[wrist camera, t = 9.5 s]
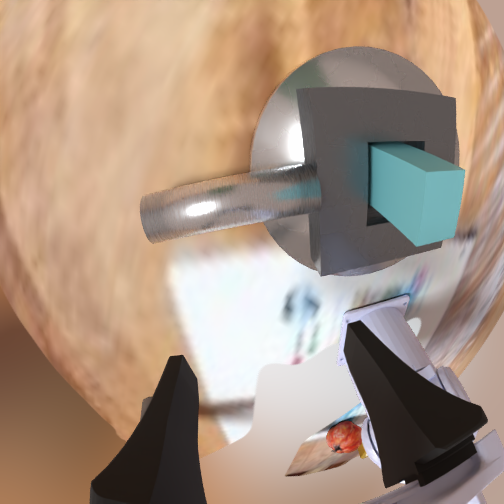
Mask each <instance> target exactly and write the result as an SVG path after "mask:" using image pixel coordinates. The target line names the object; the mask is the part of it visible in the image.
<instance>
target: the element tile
mask: <svg viewBox="0 0 504 504" xmlns="http://www.w3.org/2000/svg"><path fill="white" fill-rule="evenodd" d="M358 451H359V454H360V457H361V458H362V459H363V458H366V457H369V456H368V455H367V453H366V451H365V449H364V446H363V443H362V444H361V445H360V446H359V448H358Z"/></svg>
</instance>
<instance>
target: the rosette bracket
mask: <svg viewBox="0 0 504 504" xmlns="http://www.w3.org/2000/svg"><path fill="white" fill-rule="evenodd" d="M386 141H399V142H402V143H405V144H407V145H410V146H412V147H415V148H418V149H420V150H422V151H425V152H427V153H430V154H432V155H434V156H437V157H439V158H441V159H443V160H446V161H448V162H450V163H452V164H454V165H456V166H458V167H459V141H458V135H457V129H456V98H453V97H448V96H443V95H442V93H441V92H440V90H439V89H438V87H437V86H436V85H435V84H434V82H433V81H432V80H431V79H430V78H429V77H428V76H427V75H426V74H425V73H424V72H423V71H422V70H421V69H420V68H418V67H417V66H416V65H414V64H413V63H412V62H410V61H408V60H406V59H405V58H403V57H401V56H399V55H397V54H394V53H392V52H389V51H386V50H382V49H378V48H372V47H355V46H354V47H346V48H339V49H336V50H332V51H329V52H326V53H323V54H320V55H317V56H315V57H313V58H312V59H310V60H308V61H306V62H304V63H302V64H301V65H300V66H298V67H297V68H295V69H294V70H293V71H291V72H290V73H289V74H288V75H287V76H286V77H285V78H284V79H283V80H282V81H281V82H280V83H279V84H278V85H277V87H276V88H275V89H274V91H273V92H272V94H271V95H270V96H269V98H268V99H267V101H266V103H265V105H264V107H263V109H262V111H261V113H260V115H259V118H258V121H257V124H256V126H255V129H254V132H253V138H252V143H251V149H250V166H249V168H250V172H248V173H242V174H237V175H232V176H226V177H221V178H216V179H211V180H207V181H202V182H197V183H193V184H188V185H184V186H180V187H175V188H171V189H167V190H163V191H159V192H155V193H151V194H147V195H144V196H143V197H142V199H141V203H140V215H141V221H142V225H143V229H144V232H145V234H146V236H147V238H148V240H149V241H150V242H151V243H153V244H154V243H159V242H163V241H168V240H173V239H178V238H183V237H187V236H192V235H197V234H202V233H207V232H212V231H217V230H222V229H228V228H233V227H238V226H243V225H249V224H254V223H259V222H264V224H265V226H266V228H267V230H268V231H269V233H270V235H271V236H272V237H273V239H274V240H275V241H276V242H277V244H278V245H279V246H280V247H281V248H282V249H283V250H284V251H285V252H286V253H287V254H288V255H289V256H291V257H292V258H294V259H295V260H296V261H298V262H299V263H301V264H303V265H305V266H307V267H309V268H311V269H313V270H316V271H318V272H319V274H320V276H326V275H330V274H331V275H338V276H356V275H364V274H369V273H373V272H376V271H379V270H382V269H385V268H387V267H389V266H392V265H394V264H395V263H397V262H399V261H401V260H402V259H404V258H405V257H407V256H410V255H414V254H418V253H422V252H426V251H429V250H433V249H437V248H441V245H442V241H443V240H442V241H438V242H434V243H430V244H426V245H422V246H418V247H416V246H415V245H414V244H413V243H412V242H411V241H410V240H409V239H408V238H407V237H406V236H405V235H404V234H403V233H402V232H401V231H400V230H398V229H397V228H396V227H395V226H394V225H393V224H392V223H391V222H390V221H388V220H387V219H386V218H385V217H384V216H383V215H382V214H381V213H379V212H378V211H377V210H376V209H375V208H374V207H372V206H371V205H370V204H369V203H368V142H386Z"/></svg>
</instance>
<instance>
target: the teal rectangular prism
mask: <svg viewBox="0 0 504 504" xmlns="http://www.w3.org/2000/svg"><path fill="white" fill-rule="evenodd" d="M464 177H465V170H464V169H462V168H460V167H458V166H456V165H454V164H452V163H450V162H448V161H446V160H443V159H441V158H439V157H437V156H434V155H432V154H430V153H427V152H425V151H422V150H420V149H418V148H415V147H412V146H410V145H407V144H405V143H402V142H399V141H386V142H368V203H369V204H370V205H371V206H372V207H374V208H375V209H376V210H377V211H378V212H379V213H381V214H382V215H383V216H384V217H385V218H386V219H387V220H388V221H390V222H391V223H392V224H393V225H394V226H395V227H396V228H397V229H398V230H400V231H401V232H402V233H403V234H404V235H405V236H406V237H407V238H408V239H409V240H410V241H411V242H412V243H413V244H414V245H415V246H416V247H418V246H422V245H426V244H430V243H434V242H438V241H442V240H446V239H449V238H453V237H454V235H455V230H456V226H457V221H458V216H459V210H460V205H461V199H462V192H463V185H464Z"/></svg>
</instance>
